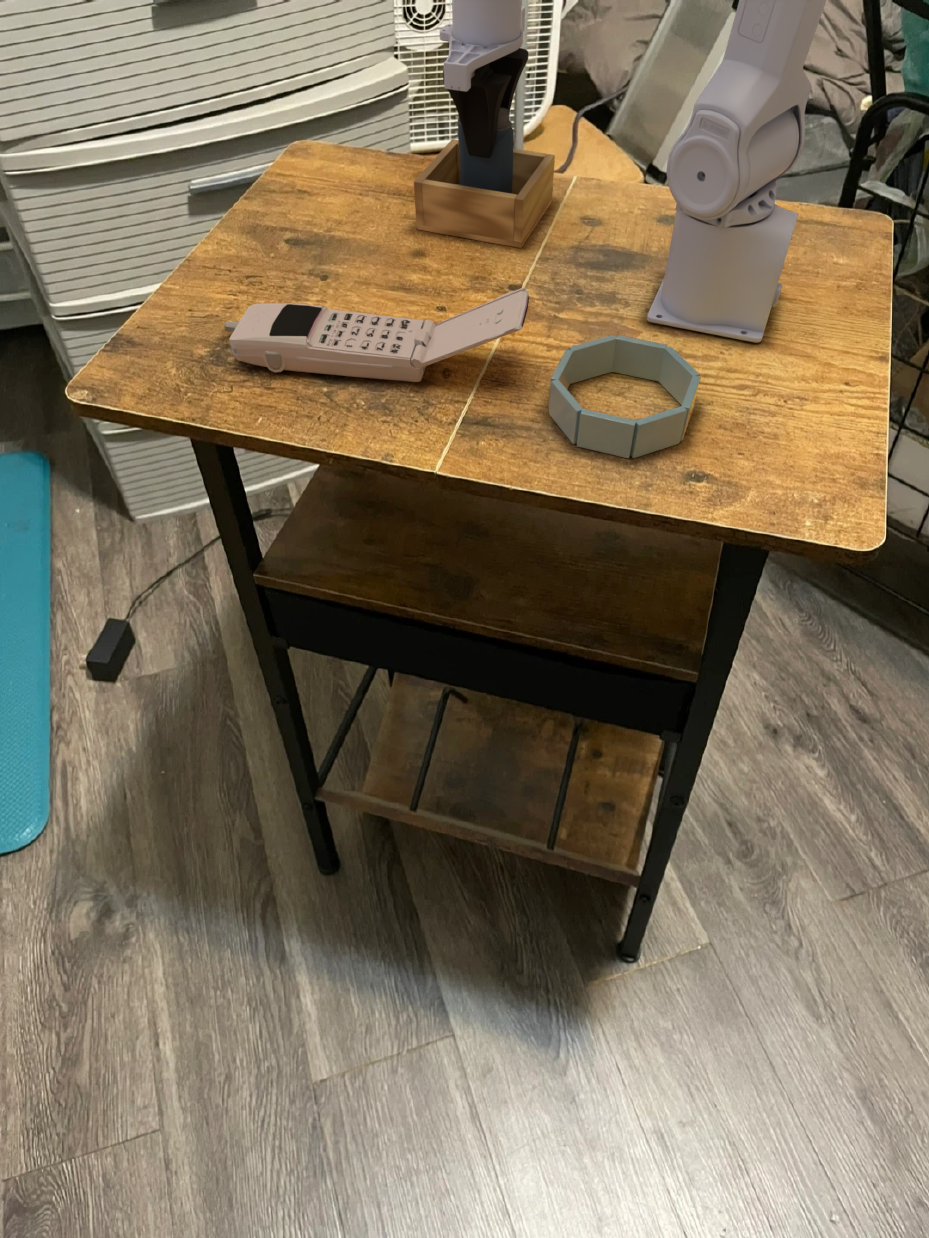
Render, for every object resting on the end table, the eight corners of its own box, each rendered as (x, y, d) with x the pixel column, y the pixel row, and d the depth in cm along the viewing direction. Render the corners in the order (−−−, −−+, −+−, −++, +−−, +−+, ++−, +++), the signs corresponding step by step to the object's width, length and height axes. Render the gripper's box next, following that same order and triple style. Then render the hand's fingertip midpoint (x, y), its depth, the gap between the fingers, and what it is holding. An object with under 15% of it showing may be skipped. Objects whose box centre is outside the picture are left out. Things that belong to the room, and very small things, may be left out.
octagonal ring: (701, 386, 67) (709, 352, 64) (672, 469, 61) (680, 435, 59) (574, 359, 69) (577, 326, 67) (534, 437, 63) (537, 403, 61)
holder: (552, 202, 86) (555, 154, 82) (521, 248, 80) (523, 199, 77) (453, 185, 88) (451, 139, 85) (416, 229, 83) (413, 181, 79)
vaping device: (464, 191, 84) (462, 52, 75) (515, 200, 83) (520, 59, 74) (455, 203, 83) (451, 63, 74) (506, 212, 82) (510, 70, 72)
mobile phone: (522, 330, 62) (189, 300, 64) (518, 399, 66) (207, 368, 69) (532, 286, 65) (217, 260, 68) (528, 354, 70) (232, 327, 73)
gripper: (472, -60, 74) (473, 111, 84) (404, -8, 65) (415, 176, 76) (550, -53, 72) (541, 121, 83) (492, 2, 64) (490, 188, 74)
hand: (485, 148), depth 79 cm, fingers closed on vaping device, 2 cm apart
